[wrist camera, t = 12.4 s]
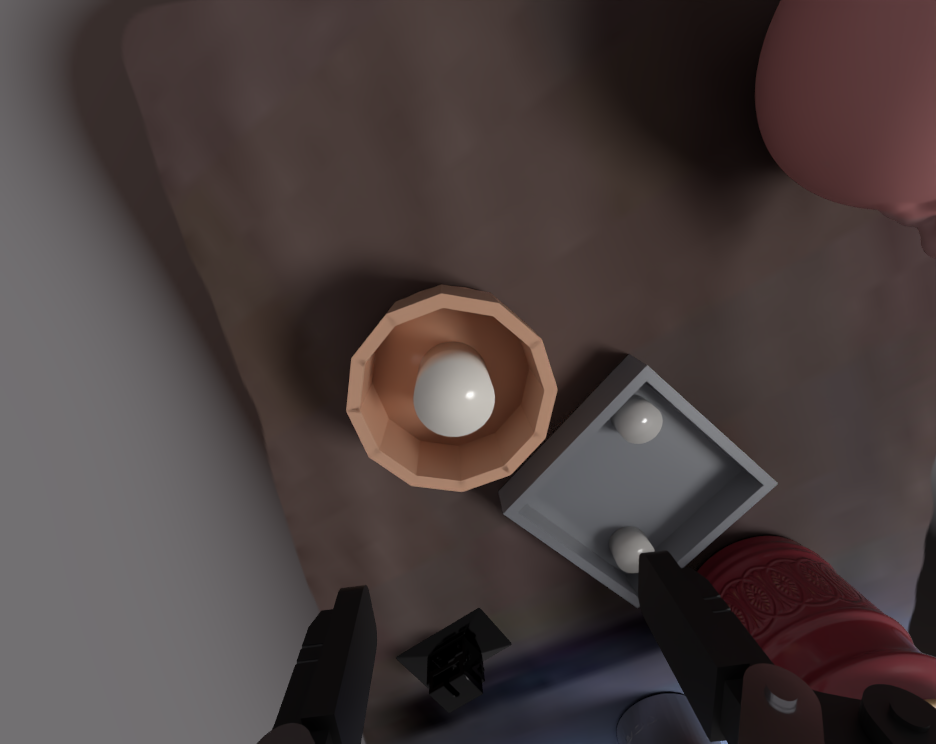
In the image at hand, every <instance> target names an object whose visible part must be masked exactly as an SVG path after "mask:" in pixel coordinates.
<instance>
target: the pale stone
mask: <svg viewBox="0 0 936 744" xmlns="http://www.w3.org/2000/svg"><path fill="white" fill-rule="evenodd" d="M413 401H414V408H415V411H416V414H417V416H418V418H419V419H420V421H421V422H422V423H423V424H424V425H425V426H426V427H427V428H428V429H430V430H431V431H433V432H435V433H437V434H440V435H443V436H448V437H459V436H464V435H468V434H470V433H473V432H474V431H476V430H478V429H479V428H480V427H482V426H483V425H484V424H485V423H486V421H487V420H488V419H489V417H490V416H491V413H492V411H493V408H494V403H495V394H494V389H493V385H492V383H491V380H490V377H489V374H488V371H487V368H486V365H485V362H484V360H483V358H482V357H481V355H480V354H479V353H478V352H477V351H476V350H475V349H474V348H472V347H471V346H469V345H467V344H464V343H461V342H455V341H452V342H444V343H441V344H438V345H436V346H434V347H433V348H431V349H430V350H429V351H428V352H427V353H426V354H425V355H424V357H423V358H422V360H421V362H420V365H419V368H418V374H417V379H416V385H415V390H414V397H413Z"/></svg>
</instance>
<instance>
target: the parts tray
mask: <svg viewBox="0 0 936 744" xmlns="http://www.w3.org/2000/svg"><path fill="white" fill-rule="evenodd" d="M632 395H638V396H641V397H643V398H645V399H646V400H647V401H649V402H650V403H651V404H652V405H653V406H655V407H656V408H657V409H658V410H659V411H660V413H661V415H662V419H663V423H662V427H661V430H660V432H659V433H658V434H657V436H656V437H654V438H653V439H652V440H650V441H648V442H646V443H643V444H633V443H630V442H628V441H626V440H625V439H624V438H623V437H622V436H621V435H620V433H619V432H618V431H617V430H616V429H615V428H614V426H613V425H612V423H611V419H610V418H611V417H612V416H613V415H614V414H615V413H616V412H617V411H618V410H619V409H620V408H621V407H622V406H623V405H624V403H625V402H626V401H627V400H628V399H629V398H630V397H631V396H632ZM777 484H778V483H777V482H776V481H775V480H774V479H772V478H771V477H770V476H769V475H768V474H767V473H766V472H765V471H764V470H763V469H761V468H760V467H759V466H758V465H757V464H756V463H755V462H754V461H753V460H751V459H750V458H749V457H748V456H747V455H746V454H745V453H744V452H743V451H742V450H740V449H739V448H738V447H737V446H736V445H735V444H734V443H733V442H732V441H730V440H729V439H728V438H727V437H726V436H725V435H724V434H723V433H722V432H720V431H719V430H718V429H717V428H716V427H715V426H714V425H713V424H712V423H711V422H709V421H708V420H707V419H706V418H705V417H704V416H703V415H702V414H701V413H699V412H698V411H697V410H696V409H695V408H694V407H693V406H692V405H691V404H689V403H688V402H687V401H686V400H685V399H684V398H683V397H682V396H681V395H680V394H678V393H677V392H676V391H675V390H674V389H673V388H672V387H671V386H670V385H668V384H667V383H666V382H665V381H664V380H663V379H662V378H661V377H660V376H658V375H657V374H656V373H655V372H654V371H653V370H652V369H651V368H650V367H649V366H647V365H646V364H644V363H643V362H641V361H640V360H638V359H636V358H635V357H633V356H632V355H630V354H629V355H628V356H627V357H626V358H625V359H624V360H623V361H622V362H621V363H620V364H619V365H618V366H617V367H616V368H615V369H614V370H613V371H612V372H611V374H610V375H609V376H608V377H607V378H606V379H605V380H604V381H603V382H602V383H601V384H600V385H599V386H598V387H597V388H596V389H595V390H594V391H593V392H592V394H591V395H590V396H589V397H588V398H587V399H586V400H585V401H584V402H583V403H582V404H581V405H580V406H579V407H578V408H577V409H576V410H575V411H574V412H573V413H572V415H571V416H570V417H569V418H568V419H567V420H566V421H565V422H564V423H563V424H562V425H561V426H560V427H559V428H558V429H557V430H556V431H555V432H554V433H553V434H552V436H551V437H550V438H549V439H548V440H547V441H546V442H545V443H544V444H543V445H542V446H541V447H540V448H539V449H538V450H537V451H536V452H535V453H534V454H533V455H532V457H531V458H530V459H529V460H528V461H527V462H526V463H525V464H524V465H523V466H522V467H521V468H520V469H519V470H518V471H517V472H516V473H515V474H514V475H513V477H512V478H511V479H510V480H509V481H508V482H507V483H506V484H505V485H504V486H503V487H502V488H501V489H500V490H499V491H498V493H499V497H500V502H501V506H502V511H503V514H504V515H505V516H507V517H508V518H510V519H511V520H513V521H514V522H515V523H517V524H518V525H520V526H521V527H522V528H524V529H525V530H527V531H528V532H530V533H531V534H532V535H534V536H535V537H537V538H538V539H540V540H541V541H542V542H544V543H545V544H547V545H548V546H550V547H551V548H552V549H554V550H555V551H557V552H558V553H560V554H561V555H562V556H564V557H565V558H567V559H568V560H570V561H571V562H572V563H574V564H575V565H577V566H578V567H580V568H581V569H582V570H584V571H585V572H587V573H588V574H590V575H591V576H592V577H594V578H595V579H597V580H598V581H599V582H601V583H602V584H604V585H605V586H607V587H608V588H609V589H611V590H612V591H614V592H615V593H617V594H618V595H619V596H621V597H622V598H624V599H625V600H627V601H628V602H629V603H631V604H632V605H634V606H635V607H637V608H638V607H639V606H640V604H639V599H638V573H627V572H625V571H623V570H621V569H620V568H619V566H618V565H617V563H616V561H615V559H614V557H613V555H612V553H611V551H610V549H609V540H610V537H611V536H612V534H613V533H614V532H616V531H617V530H618V529H620V528H623V527H628V526H632V527H636V528H639V529H640V530H641V531H642V532H643V533H644V534H645V536H646V537H647V539H648V540H649V542H650V543H651V545H652V546H653V548H654V550H655V551H662V550H667V551H668V552H669V553H670V554H671V555H672V556H673V558H674V559H675V561H676V562H677V563H678V565H679V566H680V567H681V568H683V567H685V566H686V565H687V564H688V563H689V562H690V561H691V560H692V559H694V558H695V557H696V556H697V555H698V554H699V553H700V552H701V551H703V550H704V549H705V548H706V547H707V546H708V545H709V544H711V543H712V542H713V541H714V540H715V539H716V538H717V537H718V536H720V535H721V534H722V533H723V532H724V531H725V530H726V529H727V528H729V527H730V526H731V525H732V524H733V523H734V522H735V521H737V520H738V519H739V518H740V517H741V516H742V515H743V514H744V513H746V512H747V511H748V510H749V509H750V508H751V507H752V506H753V505H755V504H756V503H757V502H758V501H759V500H760V499H761V498H763V497H764V496H765V495H766V494H767V493H768V492H769V491H770V490H772V489H773V488H774V487H775V486H776V485H777Z"/></svg>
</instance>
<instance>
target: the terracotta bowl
mask: <svg viewBox="0 0 936 744" xmlns="http://www.w3.org/2000/svg"><path fill="white" fill-rule="evenodd" d="M452 341H455V342H461V343H464V344H467V345H469V346H471V347H472V348H474V349H475V350H476V351H477V352H478V353H479V354H480V355H481V357H482V358H483V360H484V362H485V365H486V368H487V371H488V374H489V377H490V380H491V383H492V385H493V389H494V394H495V403H494V408H493V411H492V413H491V416H490V417H489V419H488V420H487V421H486V423H485V424H484V425H483V426H482V427H480V428H479V429H478V430H476V431H474V432H473V433H470V434H468V435H464V436H459V437H448V436H443V435H440V434H437V433H435V432H433V431H431V430H430V429H428V428H427V427H426V426H425V425H424V424H423V423H422V422H421V421H420V419H419V418H418V416H417V414H416V411H415V408H414V401H413V397H414V390H415V385H416V379H417V374H418V368H419V365H420V362H421V360H422V358H423V357H424V355H425V354H426V353H427V352H428V351H429V350H430V349H431V348H433V347H434V346H436V345H438V344H441V343H444V342H452ZM557 390H558V389H557V385H556V382H555V379H554V376H553V373H552V370H551V367H550V363H549V360H548V357H547V354H546V351H545V348H544V345H543V341H542V339H541V338H540V337H539V336H538V335H537V334H536V333H535V332H534V331H533V330H532V329H531V328H530V327H529V326H528V325H527V324H526V323H525V322H524V321H523V320H522V319H521V318H519V317H518V316H517V315H516V314H515V313H514V312H512V311H511V310H510V309H509V308H508V307H507V306H506V305H504V304H503V303H502V302H501V301H499V300H498V299H497V298H496V297H495V296H494V295H492V294H491V293H490V292H484V291H478V290H475V289H471V288H467V287H459V286H449V285H443V284H441V285H438V286H436V287H433V288H429V289H426V290H423V291H419V292H417V293H415V294H413V295H411V296H408V297H407V298H404V299H401V300H399V301H396V302H395V303H394V304H393V305H392V307H391V308H390V309H389V310H388V312H387V313H386V314H385V316H384V317H383V318H382V319H381V321H380V322H379V323H378V324H377V326H376V327H375V328H374V330H373V331H372V332H371V333H370V335H369V336H368V337H367V338H366V340H365V341H364V342H363V344H362V345H361V346H360V348H359V349H358V350H357V351H356V353H355V354H354V355H353V357H352V358H351V368H350V378H349V388H348V398H347V408H346V412H347V414H348V416H349V418H350V420H351V422H352V424H353V426H354V428H355V430H356V432H357V434H358V436H359V438H360V440H361V442H362V444H363V446H364V448H365V450H366V452H367V454H368V456H369V458H371V459H372V460H374V461H375V462H377V463H378V464H380V465H381V466H383V467H384V468H386V469H387V470H389V471H390V472H392V473H393V474H395V475H396V476H398V477H399V478H401V479H402V480H403V481H405V482H406V483H408V484H409V485H411V486H417V487H425V488H433V489H442V490H450V491H458V492H464V491H467V490H470V489H472V488H475V487H478V486H481V485H484V484H487V483H490V482H492V481H495V480H498V479H501V478H504V477H507V476H510V475H511V474H512V473H513V472H514V471H515V470H516V469H517V468H518V467H519V466H520V465H521V464H522V463H523V462H524V461H525V460H526V458H527V457H528V456H529V455H530V454H531V453H532V452H533V451H534V450H535V449H536V448H537V447H538V446H539V445H540V444H541V443H542V442H543V441H544V439H545V438H546V434H547V430H548V426H549V422H550V418H551V414H552V410H553V406H554V402H555V398H556V394H557Z"/></svg>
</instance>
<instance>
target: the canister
mask: <svg viewBox="0 0 936 744" xmlns="http://www.w3.org/2000/svg"><path fill="white" fill-rule="evenodd" d="M697 572H698V573H699V574H701V575H702V576H704V577H705V578H706V579H708V580H709V582H710V583H711V584H712V586H713V587H714V588H715V589H716V591H717V592H718V593H719V595H720V597H721V599H722V598H723V600H724V601H725V602H726V604H727V605H728V606H729V607H730V610H731V612H734V614H735V615H736V616H737V618H738V619H739V620H740V621H741V623H742V624H743V625H744V627H745V628H746V629H747V630H748V632H749V633H750V634H751V636H752V637H753V638H754V639H755V641H756V642H757V643H758V645H759V646H760V647H761V648H762V650H763V651H764V652H765V654H766V655H767V656H768V657H769V659H770V660H771V661H772V662H773V663H774V665H776V666H779V667H782V668H784V669H786V670H788V671H790V672H792V673H794V674H795V675H797V676H798V677H799V678H801V679H802V680H803V681H804V682H805V683H806V684H807V685H808V686H809V687H810V688H811V689H812V690H815V691H819V692H823V693H827V694H833V695H838V696H844V697H849V698H854V699H860V700H861V699H862V695H863V692H864V690H865V689H866V688H867V687H868V686H871V685H874V684H887V685H892V686H896V687H899V688H902V689H904V690H907V691H909V692H911V693H913V694H915V695H917V696H919V697H920V698H922V699H924V700H925V701H927V702H928V703H930V704H931V705H932V706H933V707H935V708H936V658H935V657H933V656H930V655H927V654H924V653H921V652H920V651H919V650H918V649H917V648H916V647H915V646H914V644H913V642H912V639H911V637H910V635H909V634H908V632H907V631H906V629H905V628H904V627H903V626H902V625H901V624H900V623H899V622H897V621H896V620H895V619H893V618H891V617H890V616H888V615H886V614H884V613H883V612H881V611H880V610H879V609H878V608H877V607H876V606H874V605H873V604H872V603H871V602H870V601H869V600H867V599H866V598H865V597H864V596H863V595H862V594H860V593H859V592H858V591H857V590H856V589H855V588H853V587H852V586H851V585H850V584H849V583H847V582H846V581H845V580H844V579H843V578H842V577H840V576H839V575H838V574H837V573H836V572H835V570H834V569H833V568H832V567H831V565H830V564H829V563H827V562H826V561H825V560H824V559H822V558H821V557H820V556H819V555H818V554H816V553H815V552H813V551H812V550H810V549H808V548H806V547H804V546H802V545H801V544H799V543H797V542H795V541H793V540H791V539H788V538H784V537H779V536H758V537H752V538H747V539H744V540H741V541H738V542H735V543H733V544H731V545H729V546H727V547H725V548H723V549H721V550H720V551H718V552H717V553H716V554H714V555H713V556H712V557H711V558H709V559H708V560H707V561H706V562H705V563H704V564H703V565H702V566H701V567H700V569H699V570H698V571H697Z"/></svg>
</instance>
